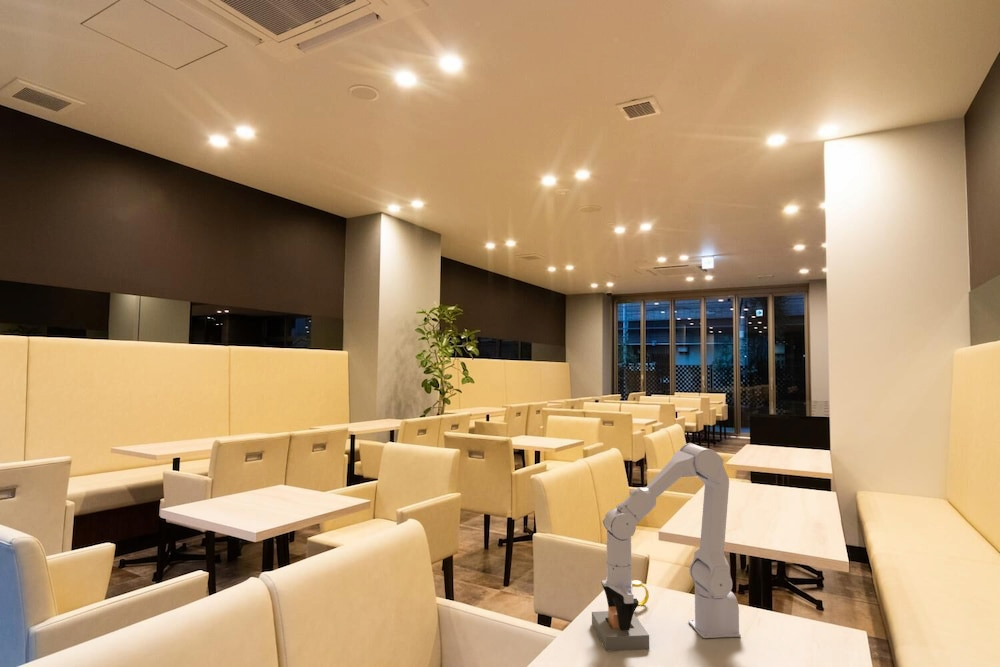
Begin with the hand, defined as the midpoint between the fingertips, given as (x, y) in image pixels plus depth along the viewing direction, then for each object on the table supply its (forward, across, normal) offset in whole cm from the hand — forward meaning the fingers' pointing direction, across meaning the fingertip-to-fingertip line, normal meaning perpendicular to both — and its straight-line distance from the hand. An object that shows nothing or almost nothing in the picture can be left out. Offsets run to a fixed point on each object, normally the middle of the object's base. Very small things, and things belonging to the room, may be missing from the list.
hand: (619, 621), depth 127 cm
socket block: (+3, 0, 0) cm, 3 cm away
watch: (+4, -16, +10) cm, 19 cm away
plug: (+3, 0, 0) cm, 3 cm away
